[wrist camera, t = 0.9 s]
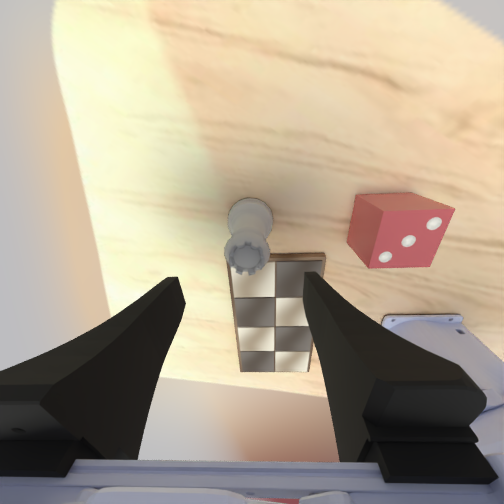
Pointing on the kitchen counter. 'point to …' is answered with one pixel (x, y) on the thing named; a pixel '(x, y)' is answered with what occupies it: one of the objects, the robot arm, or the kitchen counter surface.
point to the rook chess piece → (248, 236)
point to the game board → (274, 314)
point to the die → (397, 229)
